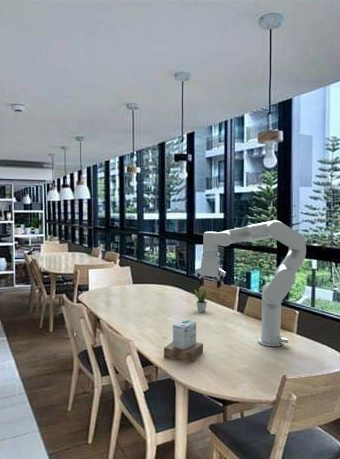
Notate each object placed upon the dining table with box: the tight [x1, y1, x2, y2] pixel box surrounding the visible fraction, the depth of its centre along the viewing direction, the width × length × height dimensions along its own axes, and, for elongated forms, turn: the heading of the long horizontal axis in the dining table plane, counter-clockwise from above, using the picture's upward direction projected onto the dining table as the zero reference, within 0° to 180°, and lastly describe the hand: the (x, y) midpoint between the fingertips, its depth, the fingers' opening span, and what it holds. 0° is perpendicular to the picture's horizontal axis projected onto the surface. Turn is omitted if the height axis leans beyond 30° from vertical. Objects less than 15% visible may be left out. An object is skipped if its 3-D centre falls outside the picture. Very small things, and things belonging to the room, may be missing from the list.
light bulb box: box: [172, 319, 197, 350], centre depth 182 cm, size 11×7×11 cm, turn 144°
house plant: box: [193, 287, 213, 312], centre depth 262 cm, size 14×14×16 cm
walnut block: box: [163, 341, 204, 364], centre depth 182 cm, size 14×14×5 cm
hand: (210, 286), depth 205 cm, fingers open, 9 cm apart
